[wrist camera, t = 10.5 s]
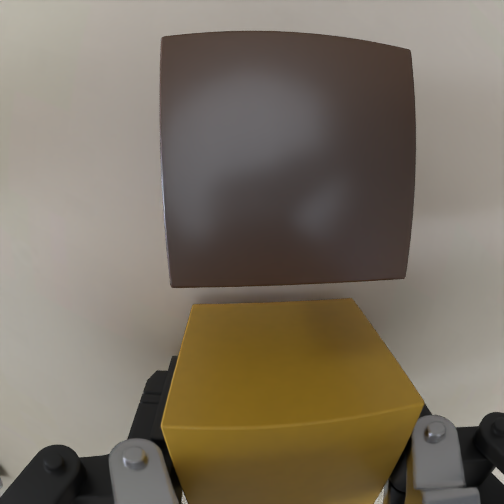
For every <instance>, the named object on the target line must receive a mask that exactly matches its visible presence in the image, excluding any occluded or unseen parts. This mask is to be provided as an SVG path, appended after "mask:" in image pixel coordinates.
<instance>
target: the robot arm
mask: <svg viewBox="0 0 504 504" xmlns="http://www.w3.org/2000/svg"><path fill="white" fill-rule="evenodd" d="M177 359H178V356H172V358H171V362H170V365H169V369H168V371H160V370H157V371H156V372H155V373H154V374H153V375H152V376H151V377H150V378H149V379H148V380H147V383H146V385H145V388H144V391H143V392H144V393H143V394H142V397H141V400H140V403H139V406H138V409H137V412H136V415H135V418H134V421H133V424H132V427H131V430H130V433H129V436H128V438H127V440H125V441H122V442H120V443H119V444H117V445H116V446H115V447H114V448H113V449H112V450H111V452H110V454H108V455H103V456H93V457H80V458H79V457H78V455H77V454H76V452H75V451H74V450H72V449H71V448H69V447H67V446H64V445H51V446H48V447H45V448H43V449H42V450H40V451H39V452H38V453H37V454H36V456H35V457H34V458H33V459H32V460H31V461H30V463H29V464H28V465H27V466H26V467H25V469H24V470H23V471H22V472H21V473H20V475H19V476H18V477H17V478H16V479H15V480H14V482H13V483H12V484H11V485H10V486H9V488H8V489H7V490H6V491H5V492H4V494H3V495H2V496H1V497H0V504H182V502H181V499H182V491H183V490H182V487H181V484H180V482H179V479H178V476H177V474H176V471H175V468H174V465H173V462H172V460H171V457H170V454H169V451H168V448H167V445H166V442H165V439H164V435H163V432H162V429H161V422H162V417H163V413H164V409H165V405H166V401H167V397H168V393H169V390H170V386H171V382H172V378H173V374H174V370H175V367H176V363H177ZM495 467H497V468H498V469H499V470H500V471H501V472H502V473H503V474H504V413H500V412H493V413H489V414H487V415H486V416H485V417H484V418H483V419H482V421H481V422H480V424H479V426H474V427H455V426H454V424H453V423H452V422H451V421H450V420H448V419H447V418H445V417H442V416H438V415H432V414H431V412H430V411H429V409H428V408H427V406H426V405H425V403H424V406H423V408H422V411H421V413H420V416H419V418H418V420H417V422H416V425H415V427H414V429H413V431H412V434H411V436H410V438H409V440H408V442H407V444H406V446H405V448H404V450H403V452H402V454H401V456H400V458H399V460H398V462H397V464H396V466H395V468H394V469H393V471H392V473H391V475H390V477H389V478H388V480H387V482H386V484H385V485H384V497H383V504H504V485H503V484H502V483H501V482H500V481H499V480H498V479H497V478H496V477H495V476H494V475H493V474H492V473H491V472H492V471H493V470H494V469H495Z"/></svg>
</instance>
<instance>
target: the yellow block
mask: <svg viewBox="0 0 504 504" xmlns="http://www.w3.org/2000/svg"><path fill="white" fill-rule="evenodd" d="M423 406H424V400H423V399H422V397H421V396H420V394H419V393H418V391H417V390H416V388H415V387H414V385H413V384H412V382H411V381H410V379H409V378H408V376H407V375H406V373H405V372H404V370H403V369H402V368H401V366H400V365H399V363H398V362H397V360H396V359H395V357H394V356H393V354H392V353H391V352H390V350H389V349H388V347H387V346H386V344H385V343H384V342H383V340H382V339H381V337H380V336H379V335H378V333H377V332H376V330H375V329H374V328H373V326H372V325H371V323H370V322H369V321H368V319H367V318H366V316H365V315H364V314H363V312H362V311H361V310H360V308H359V307H358V305H357V304H356V303H355V301H354V300H353V299H352V298H345V299H329V300H311V301H291V302H266V303H234V304H193V305H192V308H191V312H190V315H189V319H188V323H187V326H186V330H185V333H184V337H183V341H182V344H181V348H180V352H179V355H178V359H177V363H176V367H175V370H174V374H173V378H172V382H171V386H170V390H169V393H168V397H167V401H166V405H165V409H164V413H163V417H162V422H161V429H162V432H163V435H164V439H165V442H166V445H167V448H168V451H169V454H170V457H171V460H172V462H173V465H174V468H175V471H176V474H177V476H178V479H179V482H180V484H181V487H182V490H183V492H184V495H185V497H186V500H187V502H188V504H374V502H375V500H376V499H377V497H378V496H379V494H380V492H381V491H382V489H383V487H384V485H385V484H386V482H387V480H388V478H389V477H390V475H391V473H392V471H393V469H394V468H395V466H396V464H397V462H398V460H399V458H400V456H401V454H402V452H403V450H404V448H405V446H406V444H407V442H408V440H409V438H410V436H411V434H412V431H413V429H414V427H415V425H416V422H417V420H418V418H419V416H420V413H421V411H422V408H423Z"/></svg>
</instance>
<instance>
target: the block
mask: <svg viewBox="0 0 504 504" xmlns="http://www.w3.org/2000/svg"><path fill="white" fill-rule="evenodd" d="M160 154H161V178H162V196H163V211H164V224H165V236H166V248H167V258H168V268H169V277H170V285H171V287H172V288H199V287H244V286H275V285H301V284H323V283H343V282H361V281H378V280H393V279H404V278H405V277H406V270H407V263H408V256H409V247H410V239H411V229H412V218H413V206H414V190H415V165H416V118H415V95H414V80H413V68H412V58H411V51H410V50H409V49H405V48H400V47H396V46H391V45H386V44H382V43H376V42H371V41H365V40H359V39H353V38H346V37H339V36H331V35H322V34H311V33H298V32H280V31H224V32H205V33H193V34H182V35H173V36H165V37H162V38H161V52H160Z"/></svg>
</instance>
